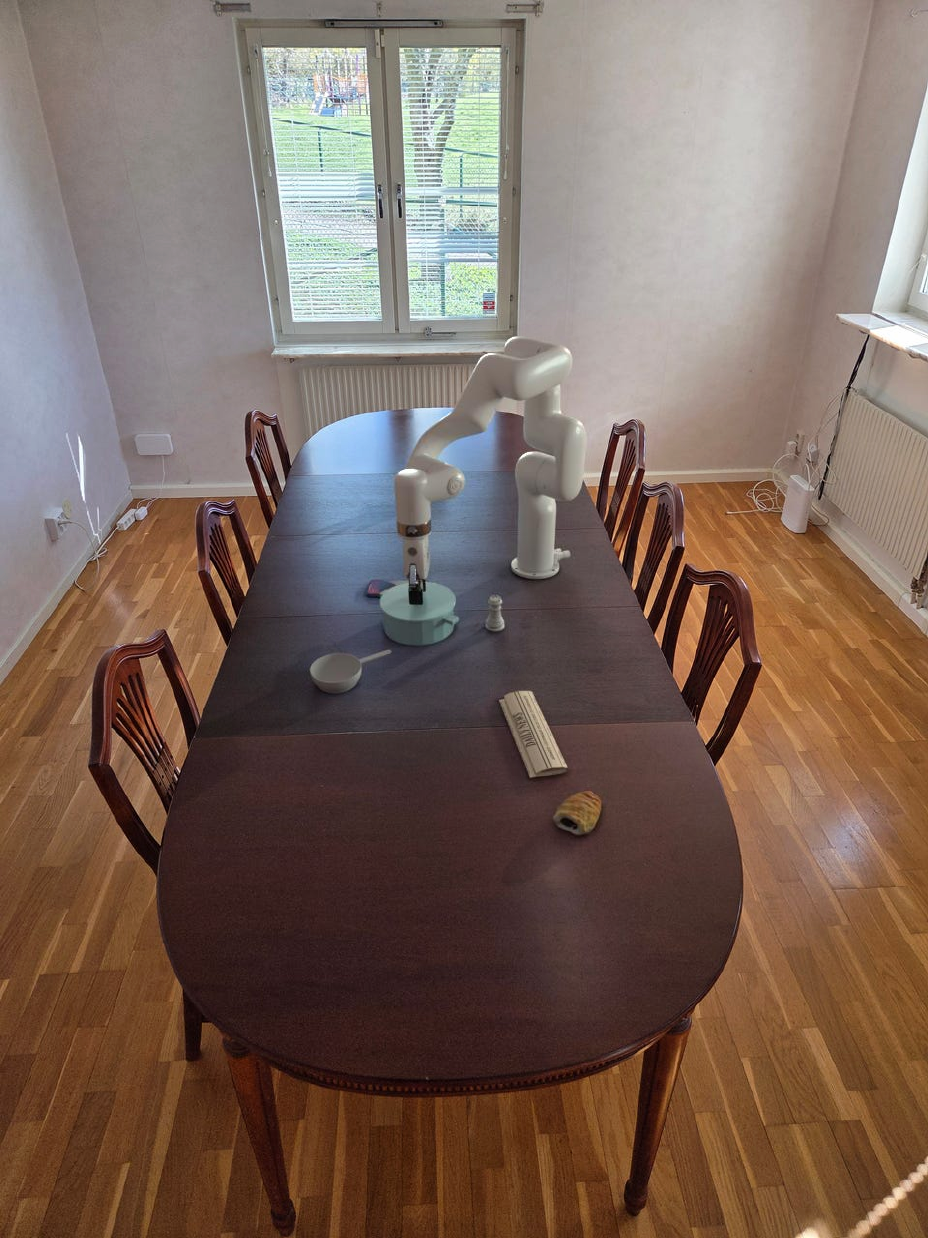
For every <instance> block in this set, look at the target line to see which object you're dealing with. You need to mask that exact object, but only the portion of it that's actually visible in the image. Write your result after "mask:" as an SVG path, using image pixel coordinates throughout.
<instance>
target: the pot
mask: <svg viewBox="0 0 928 1238" xmlns="http://www.w3.org/2000/svg"><path fill="white" fill-rule="evenodd" d="M386 591H388V590H384V591H382V592H381V593H379V596H380V597H379V596H378V597H379V598H381V597H382V595H383V594H384V593H385V592H386ZM381 612H382V613H381V616H382V627H383V631H384V633H385V636H387V637H388V638H389V639H390V640H392V641H393V642H396V643H399V644H401V645H406V646H428V645H432V644H436V643H438V642H441V641H443V640H445V639H447V638H448V637H449V636H450V635H451V634H453V632H454V629H455V624H457V623H458V622H459V621H460V617H459V616H457V615H455V607H454V608H453V610H452V611H451V612H450V613H448V614H447V615H445V616H443V617H441V618H438V619H435V620H432V621H427V622H404V621H399V620H396V619H393V618H391V617H389V616H387V615H386V614H385V613H384V612H383V611H382V610H381Z"/></svg>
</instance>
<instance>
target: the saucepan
mask: <svg viewBox="0 0 928 1238" xmlns="http://www.w3.org/2000/svg"><path fill="white" fill-rule="evenodd" d="M391 653H392V650H391V649H386V650H383V651H380V652H377V653H374V654H370V655H368V656H365V657H363V658H360V659H359V658H358V657H357V656H355V655H353V654H349V653H346V652H345V653H344V652H335V653H329V654H325V655H323V656H321V657H319V658H317V659H315V661H313V663H312V664H311V666H310V668H309V671H310V676H311V679H312V682H313V683H314V684H315V685H316V686H317V687H318V688H319V689H320V691H321V690H322V691H323V692H325V693H330V694H331V693H332V694H338V693H339V694H340V693H344V692H347V691H349V690H351V689H352V688H354V687H355V686H356V685H357V683H358V681H359V680H360V677H361V675H362V664H365V663H368V662H370V661H373V660H375V659H379V658H381V657H385V656H387V655H390V654H391Z"/></svg>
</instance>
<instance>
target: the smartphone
mask: <svg viewBox="0 0 928 1238" xmlns="http://www.w3.org/2000/svg"><path fill="white" fill-rule="evenodd" d="M426 582H429V581H428V580H427V579H426ZM404 583H409V579H371V580H370V581H369V583H368V586H367V589H366V596H367V597H379V598H381V597H380V596H379V593H381V592H382V591H384V590H389V589H391V588H393V587H395V586H397V585H400V584H404Z"/></svg>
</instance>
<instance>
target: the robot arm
mask: <svg viewBox="0 0 928 1238" xmlns="http://www.w3.org/2000/svg"><path fill="white" fill-rule="evenodd" d="M572 369H573V355H572V353H571V351H570V350H569V349H568V348H567V347H566V346H565V345H562V344H559V343H557V342H556V343H555V342H551V341H546V340H542V339H538V338H534V337H529V336H523V335H522V336H521V335H519V336H512V337H511V338H509V339H508V340H507V341H506V342H505V344H504V347H503V354H502V353H495V352H494V353H493V352H492V353H491V352H490V353H487V354H484V355H482V356H481V357H480V359H478V361H477V363H476V365H475V367H474V369H472V370H473V371H472V372H471V374H470V376H469V378H468V380H467V382H466V384H465V386H464V387H463V390H462V392H461V393H460V395H459V397H458V399H457V401H456V403H455V405H454V407H453V409H452V410H451V411H450V412H449V413H448V414H447V415H445V416H444V417H442V418H440V419H439V420H438V421H436V422H435V423H433V425H431V426H430V427H429V428H428V429H426V431H424V432H423V434H421V436H420V438H419V439H418V440H417V442H416V444H415V446H414V448H413V450H412V452H411V453H410V456H409V458H408V460H407V462H406V465H405V466H406V467H405V469H403V470H400V471H399V472H397V473H396V474H395V476H394V479H393V485H394V486H393V487H394V501H395V502H394V503H395V516H396V517H395V519H396V533H397V535H398V537H400V538H402V558H403V559H402V560H403V573H404V578H405V580H409V588H408V594H409V604H410V605H423V592H425V591H426V580H427V578H428V574H429V570H430V565H431V553H430V540H429V536H430V535H432V513H431V511H432V510H431V507H432V506H431V504H432V503H435V502H442V501H449V500H451V499H454V498H457V497H458V496H459V495H460V494H461V493H462V491H463V490H464V488H465V486H466V478H465V475H464V472H463V471H462V470H461V469H459V467H457V466H454V465H452V464H449V463H447V462H445V461H443V460H440V459H439V457H440V455H441V454H442V452H443V451H444V450H445V449H446V448H447V447H448V446H449V445H450V444H452V443H454V442H456V441H458V440H461V439H465V438H467V437H471V436H475V435H479V434H482V433H484V432H486V430H487V429H488V428H489V426H490V424H491V421H492V419H493V418H494V416H495V414H496V412H497V410H498V408H499V406H500V404H501V403H502V401H503V399H504V398H507V399H510V400H514V401H517V402H518V401H524V404H523V428H522V431H523V440H524V442H525V444H526V445H528V446H529V447H531V448H533V449H535V450H537V451H528V452H525V453H524V454H522V455H521V456H520V457H519V458H518V460H517V462H516V464H515V469H514V476H515V478H514V479H515V483H516V489H517V496H518V497H517V498H518V514H517V552H516V553H517V556H516V557H515V558H514V559H513V560H512V561H511V564H510V565H511V567H510V568H511V571H512V572H513V573H514V574H515V575H517V576H518V577H520V578H524V579H528V580H542V579H543V580H544V579H549V578H551V577H553V576H555V575H557V574H558V572H559V570H560V563H559V561H561V560H565V559H569V558H571V552H570V551H569V549H568V550H563V551H562V549H561V548H560V547H559V548H556V549H555V538H556V521H557V519H556V517H557V504H556V501H559V502H565V503H566V502H572V501H573V500H575V499H576V498H577V497H578V495H579V494H580V491H581V489H582V486H583V482H584V474H585V463H586V452H587V440H588V439H587V430H586V428H585V426H584V424H583V423H582V421H581V420H579V419H577V418H575V417H573V416H570V415H566V414H563V413H562V409H561V400H562V399H561V397H562V396H561V395H562V394H561V393H562V392H561V384H562V383H563V382H564V381H565V380H567V378H568V377H569V376H570V373H571V371H572ZM416 580H418V583H416ZM421 580H422V581H423V589H421Z"/></svg>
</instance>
